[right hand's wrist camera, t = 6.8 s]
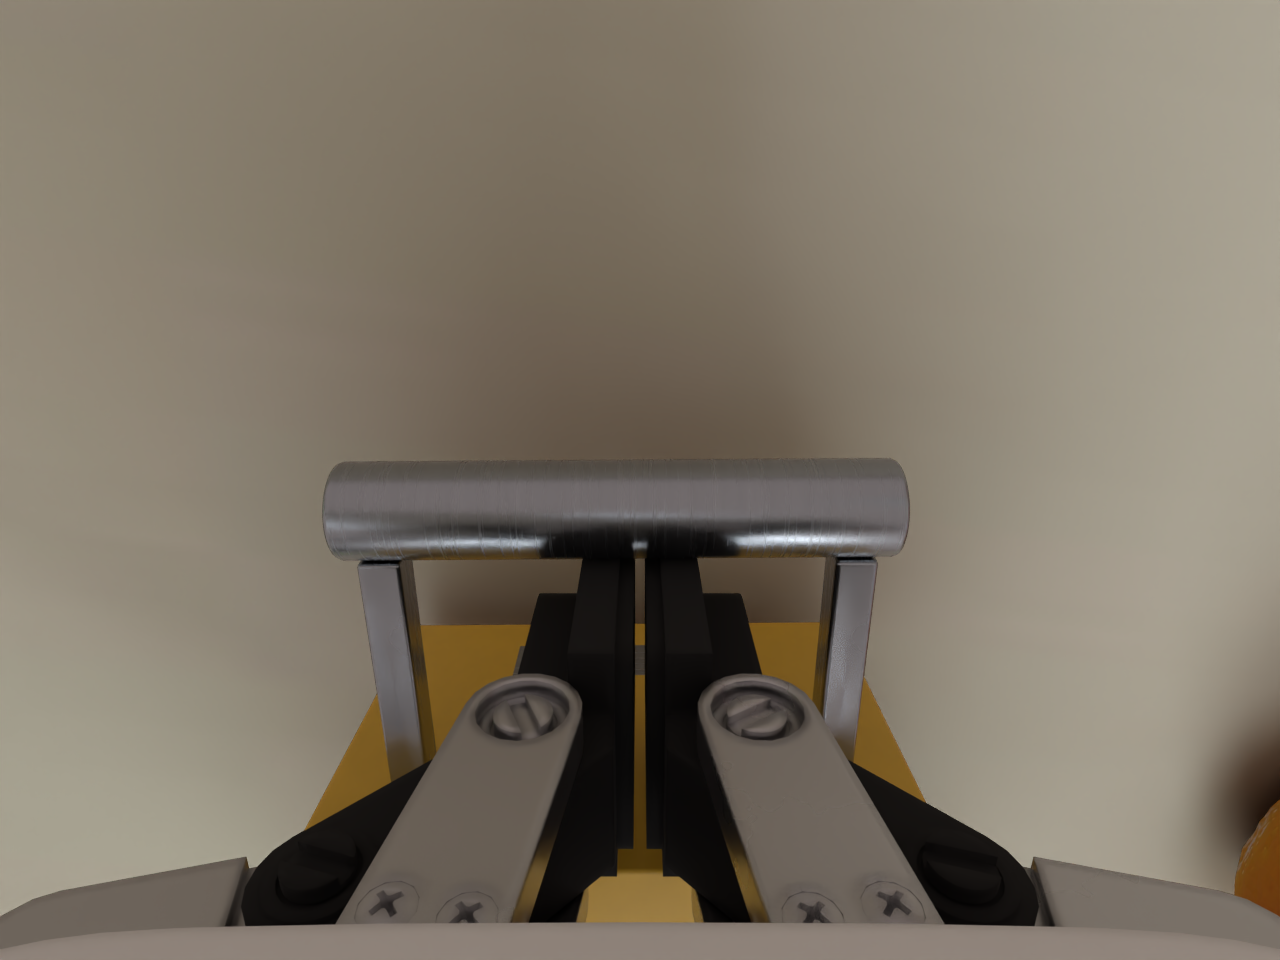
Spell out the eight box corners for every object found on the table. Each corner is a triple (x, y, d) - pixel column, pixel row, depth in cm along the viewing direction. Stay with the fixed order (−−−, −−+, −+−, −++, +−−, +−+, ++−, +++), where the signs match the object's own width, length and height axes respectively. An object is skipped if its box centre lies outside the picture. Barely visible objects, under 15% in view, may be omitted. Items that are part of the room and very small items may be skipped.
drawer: (381, 384, 14) (191, 515, 8) (863, 382, 14) (1033, 509, 8) (460, 989, 20) (385, 1325, 14) (799, 985, 20) (870, 1317, 14)
